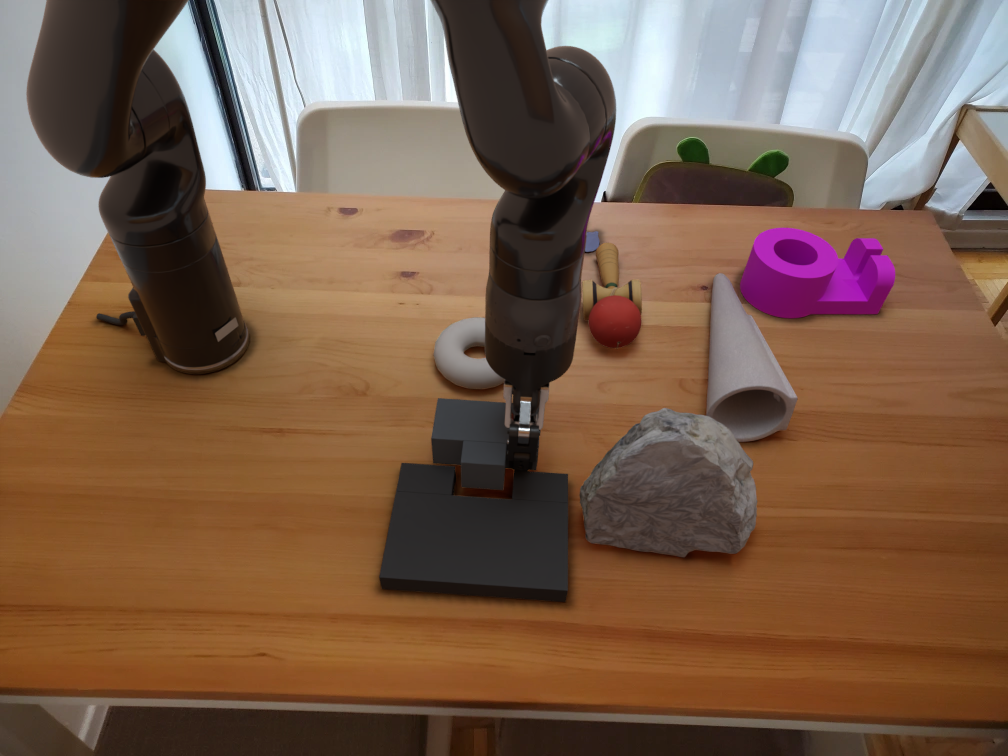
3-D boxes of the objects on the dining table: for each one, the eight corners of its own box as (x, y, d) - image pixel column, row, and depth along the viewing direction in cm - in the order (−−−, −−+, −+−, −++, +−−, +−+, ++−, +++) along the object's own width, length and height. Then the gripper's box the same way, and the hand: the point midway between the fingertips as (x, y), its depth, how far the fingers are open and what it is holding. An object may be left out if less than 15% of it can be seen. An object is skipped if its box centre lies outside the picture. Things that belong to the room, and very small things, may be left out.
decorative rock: (572, 548, 66) (591, 447, 55) (577, 487, 70) (595, 384, 59) (754, 573, 64) (811, 475, 53) (747, 510, 69) (798, 408, 58)
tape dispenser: (751, 318, 88) (766, 277, 83) (731, 267, 94) (744, 227, 90) (879, 318, 88) (902, 278, 84) (851, 267, 95) (870, 228, 90)
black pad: (381, 589, 62) (378, 577, 61) (403, 475, 71) (401, 462, 69) (565, 602, 62) (567, 590, 60) (566, 486, 70) (568, 473, 69)
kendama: (569, 269, 95) (574, 351, 81) (582, 226, 91) (590, 305, 77) (625, 280, 96) (640, 363, 82) (640, 239, 92) (659, 319, 78)
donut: (423, 388, 79) (513, 402, 77) (421, 366, 76) (514, 380, 75) (446, 327, 85) (529, 339, 84) (445, 305, 83) (530, 317, 82)
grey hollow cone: (664, 249, 89) (714, 386, 69) (733, 248, 89) (803, 385, 70) (655, 301, 94) (699, 442, 74) (721, 300, 94) (783, 441, 75)
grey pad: (429, 485, 68) (427, 460, 65) (439, 423, 73) (437, 397, 70) (535, 492, 67) (538, 467, 64) (537, 430, 72) (540, 404, 70)
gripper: (491, 256, 63) (489, 387, 75) (477, 376, 53) (476, 503, 65) (578, 261, 62) (560, 392, 75) (579, 383, 53) (559, 509, 65)
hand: (521, 443), depth 70 cm, fingers closed on grey pad, 5 cm apart
